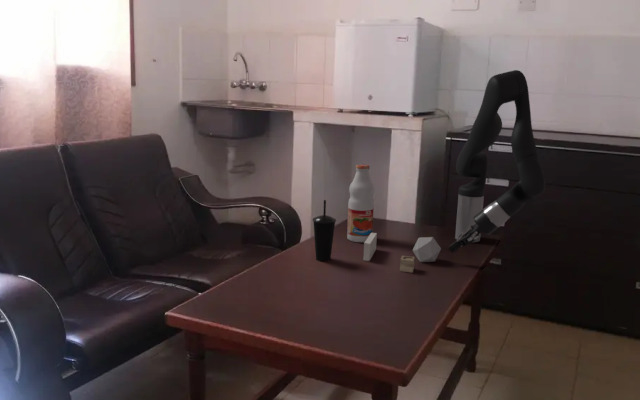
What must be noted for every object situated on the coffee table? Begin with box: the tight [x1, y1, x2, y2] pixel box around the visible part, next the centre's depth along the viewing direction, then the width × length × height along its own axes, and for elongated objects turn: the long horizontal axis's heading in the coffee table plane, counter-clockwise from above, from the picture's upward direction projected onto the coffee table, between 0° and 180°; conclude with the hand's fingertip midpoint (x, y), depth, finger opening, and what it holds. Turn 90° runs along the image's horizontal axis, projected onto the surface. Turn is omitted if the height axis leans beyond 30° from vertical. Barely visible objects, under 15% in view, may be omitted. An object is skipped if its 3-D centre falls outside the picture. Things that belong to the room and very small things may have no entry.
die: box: [412, 236, 442, 263], centre depth 204 cm, size 8×9×10 cm
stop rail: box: [362, 232, 378, 262], centre depth 209 cm, size 14×2×6 cm, turn 166°
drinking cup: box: [312, 199, 337, 262], centre depth 201 cm, size 8×8×20 cm
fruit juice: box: [346, 163, 375, 243], centre depth 225 cm, size 9×9×28 cm
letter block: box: [399, 255, 416, 274], centre depth 195 cm, size 4×4×4 cm
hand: (450, 250), depth 202 cm, fingers closed
